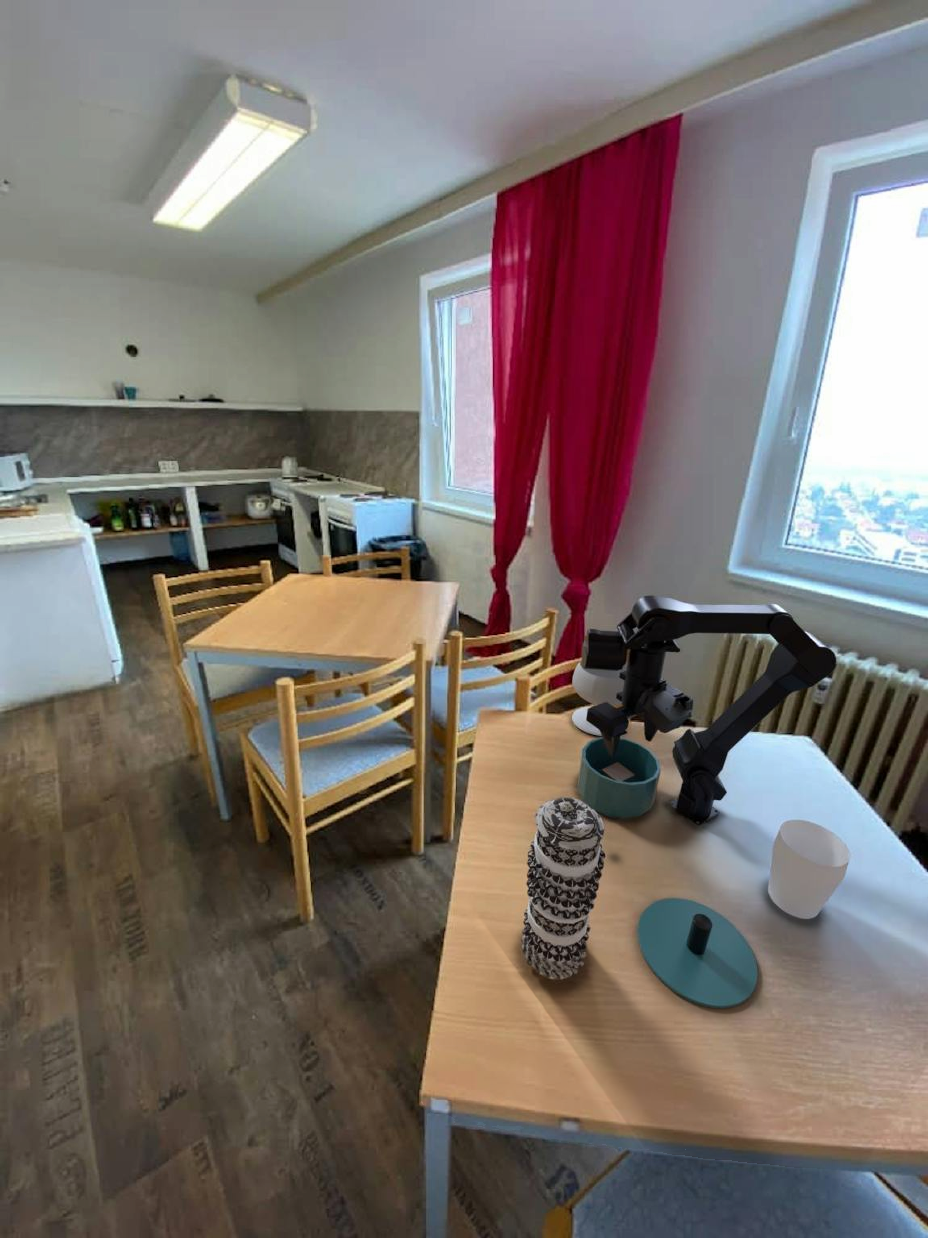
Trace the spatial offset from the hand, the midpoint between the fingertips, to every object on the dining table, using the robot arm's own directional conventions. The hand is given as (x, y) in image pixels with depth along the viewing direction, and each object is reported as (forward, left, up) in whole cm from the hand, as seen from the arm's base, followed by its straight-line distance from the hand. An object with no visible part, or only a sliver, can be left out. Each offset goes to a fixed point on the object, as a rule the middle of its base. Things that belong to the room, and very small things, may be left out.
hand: (630, 747), depth 93 cm
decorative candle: (+31, +15, -13) cm, 37 cm away
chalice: (-16, -22, -13) cm, 30 cm away
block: (-1, -3, -12) cm, 13 cm away
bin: (-1, -3, -13) cm, 13 cm away
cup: (-6, +28, -13) cm, 32 cm away
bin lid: (+14, +25, -12) cm, 31 cm away
